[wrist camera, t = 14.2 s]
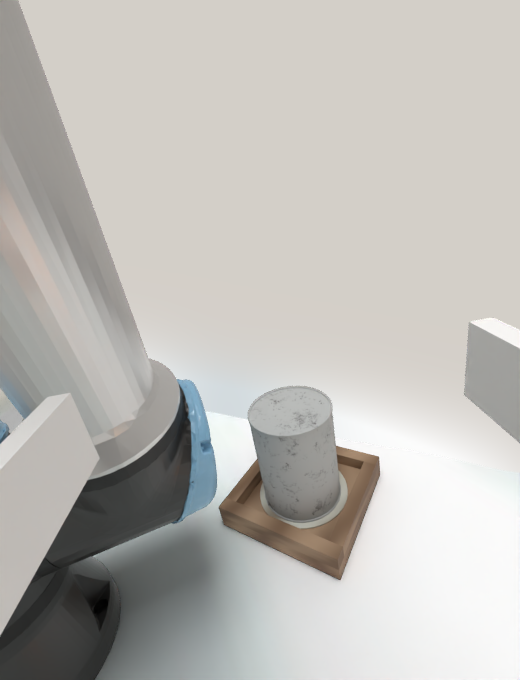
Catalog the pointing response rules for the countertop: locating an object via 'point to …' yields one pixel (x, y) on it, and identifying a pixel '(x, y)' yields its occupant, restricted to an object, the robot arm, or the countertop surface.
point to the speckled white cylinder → (296, 452)
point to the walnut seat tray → (311, 537)
